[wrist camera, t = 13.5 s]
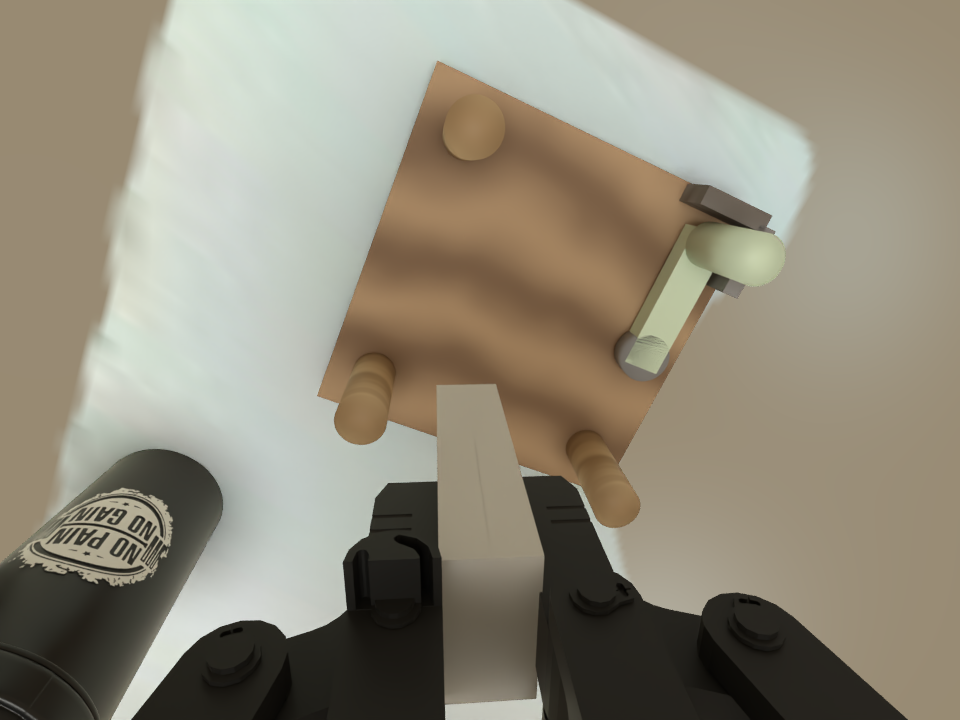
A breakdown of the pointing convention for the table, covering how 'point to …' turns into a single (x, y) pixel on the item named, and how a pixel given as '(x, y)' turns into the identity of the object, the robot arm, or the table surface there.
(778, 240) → the hinged leg
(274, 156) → the table surface
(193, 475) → the water bottle
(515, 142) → the stool seat
